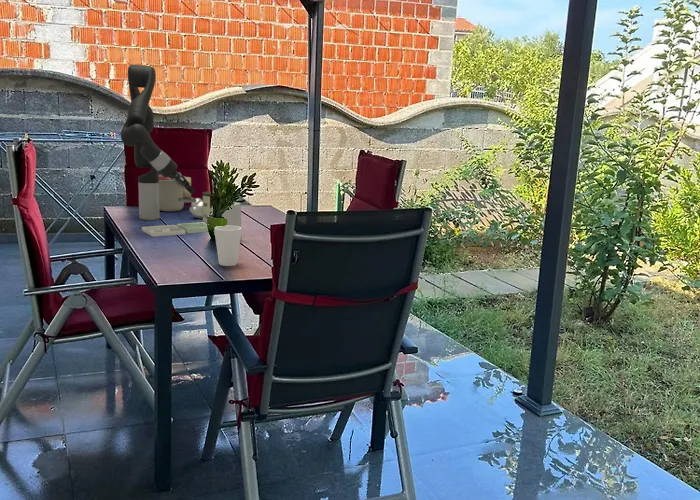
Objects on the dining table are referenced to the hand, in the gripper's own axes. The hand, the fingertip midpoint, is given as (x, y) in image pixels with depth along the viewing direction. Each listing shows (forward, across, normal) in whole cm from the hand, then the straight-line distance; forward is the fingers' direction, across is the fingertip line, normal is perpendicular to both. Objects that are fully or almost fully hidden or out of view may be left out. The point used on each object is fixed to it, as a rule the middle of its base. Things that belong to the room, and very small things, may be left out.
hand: (191, 191), depth 282 cm
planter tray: (+13, 0, +12) cm, 18 cm away
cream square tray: (+4, 0, +22) cm, 22 cm away
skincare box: (+18, -21, +7) cm, 29 cm away
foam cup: (+6, -58, +18) cm, 62 cm away
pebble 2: (+4, -4, +18) cm, 18 cm away
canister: (+20, +59, +6) cm, 62 cm away
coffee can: (+25, +19, 0) cm, 32 cm away
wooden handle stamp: (+1, 0, +4) cm, 5 cm away
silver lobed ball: (+24, +31, +2) cm, 39 cm away
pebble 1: (-1, -5, +22) cm, 23 cm away
